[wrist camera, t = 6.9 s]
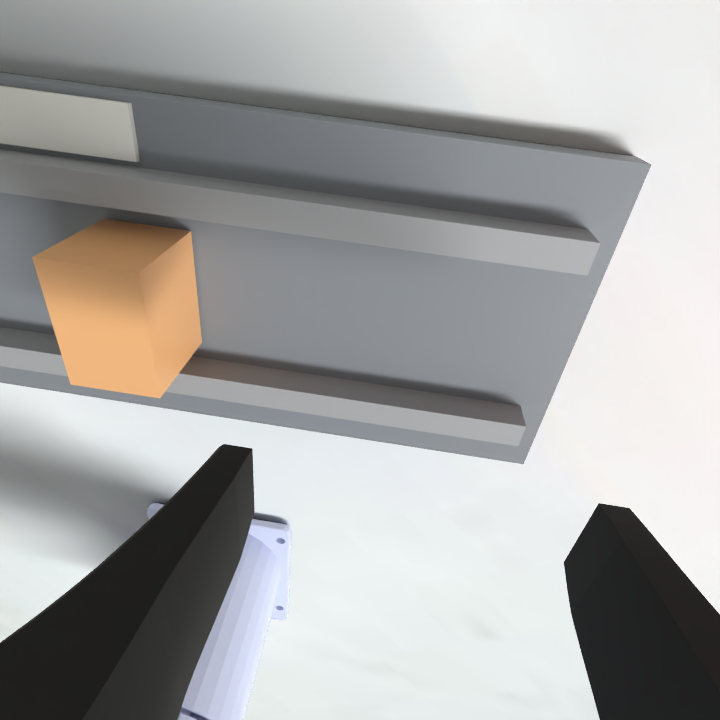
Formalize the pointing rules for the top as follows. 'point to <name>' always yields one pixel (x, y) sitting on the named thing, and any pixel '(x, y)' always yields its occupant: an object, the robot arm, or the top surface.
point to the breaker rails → (322, 258)
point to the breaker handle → (123, 305)
